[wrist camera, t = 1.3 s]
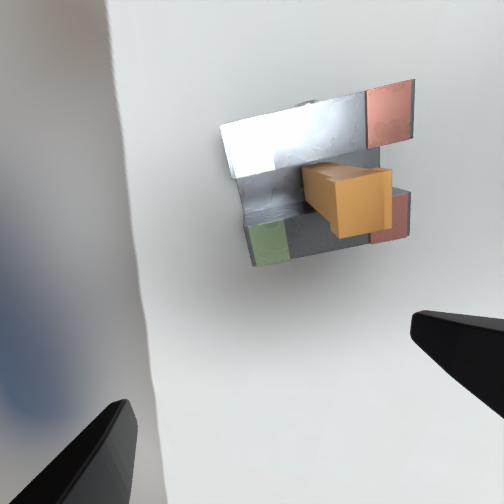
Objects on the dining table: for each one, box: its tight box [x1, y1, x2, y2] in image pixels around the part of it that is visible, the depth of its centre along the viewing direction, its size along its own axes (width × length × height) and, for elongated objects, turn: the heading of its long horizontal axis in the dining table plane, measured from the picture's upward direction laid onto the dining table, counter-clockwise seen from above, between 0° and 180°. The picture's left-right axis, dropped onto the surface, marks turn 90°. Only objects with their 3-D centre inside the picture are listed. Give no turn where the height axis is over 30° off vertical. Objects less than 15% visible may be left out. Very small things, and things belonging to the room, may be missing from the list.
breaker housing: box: [219, 79, 415, 267], centre depth 18 cm, size 11×10×5 cm
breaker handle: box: [302, 161, 392, 239], centre depth 14 cm, size 2×2×8 cm
